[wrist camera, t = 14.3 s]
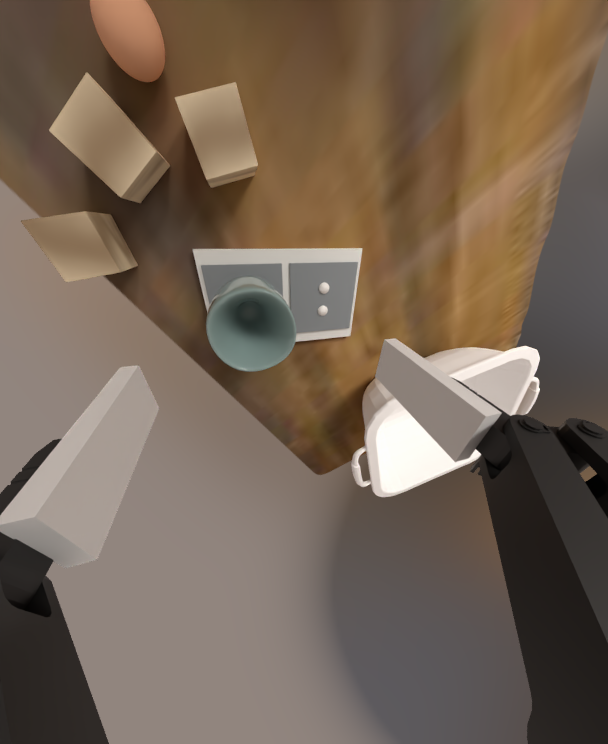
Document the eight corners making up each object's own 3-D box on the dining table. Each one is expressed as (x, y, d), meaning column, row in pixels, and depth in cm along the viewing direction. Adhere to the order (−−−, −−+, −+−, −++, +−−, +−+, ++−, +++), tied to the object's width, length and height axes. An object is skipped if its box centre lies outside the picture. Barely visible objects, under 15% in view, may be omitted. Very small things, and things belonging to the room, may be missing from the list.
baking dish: (487, 302, 39) (577, 328, 29) (460, 407, 56) (511, 447, 45) (311, 370, 37) (341, 424, 27) (338, 458, 54) (363, 513, 43)
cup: (232, 341, 29) (232, 383, 21) (201, 282, 24) (185, 308, 16) (286, 320, 29) (307, 355, 21) (266, 259, 25) (281, 274, 17)
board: (193, 248, 24) (191, 249, 23) (359, 248, 28) (364, 248, 27) (216, 347, 30) (215, 351, 29) (348, 334, 35) (351, 337, 34)
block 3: (186, 122, 19) (174, 97, 15) (235, 109, 19) (235, 81, 16) (211, 188, 22) (206, 179, 18) (254, 175, 22) (258, 165, 18)
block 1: (85, 150, 18) (48, 130, 15) (117, 104, 17) (86, 71, 14) (140, 203, 21) (120, 197, 17) (170, 165, 20) (156, 151, 16)
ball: (96, -1, 15) (58, -65, 12) (160, 13, 16) (142, -43, 13) (122, 89, 17) (96, 56, 14) (177, 97, 18) (165, 68, 15)
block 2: (85, 211, 17) (111, 214, 21) (20, 220, 16) (58, 222, 20) (120, 272, 20) (138, 265, 23) (66, 282, 19) (93, 274, 23)
